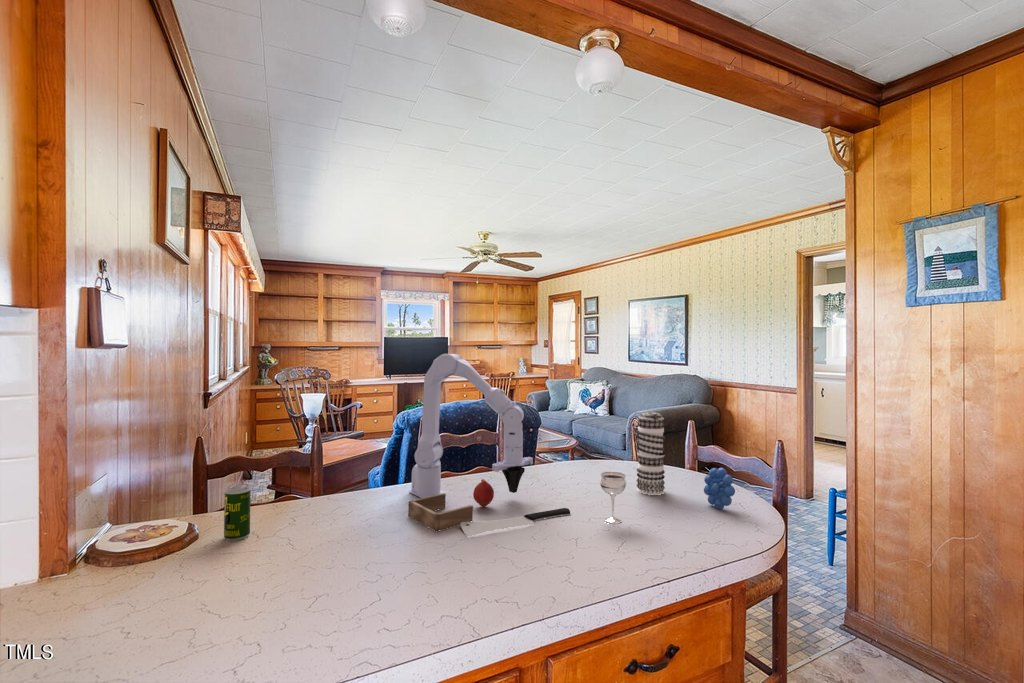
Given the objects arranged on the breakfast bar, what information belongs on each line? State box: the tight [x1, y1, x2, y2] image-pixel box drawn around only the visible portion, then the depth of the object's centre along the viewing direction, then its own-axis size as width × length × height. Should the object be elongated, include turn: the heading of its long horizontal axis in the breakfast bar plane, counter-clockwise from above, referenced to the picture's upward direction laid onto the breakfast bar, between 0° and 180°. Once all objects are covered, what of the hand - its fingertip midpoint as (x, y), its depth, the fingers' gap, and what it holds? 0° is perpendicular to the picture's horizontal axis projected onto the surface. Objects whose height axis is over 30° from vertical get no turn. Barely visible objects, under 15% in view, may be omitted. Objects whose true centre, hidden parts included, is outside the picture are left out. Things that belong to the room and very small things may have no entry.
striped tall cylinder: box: [635, 411, 667, 496], centre depth 151 cm, size 9×9×25 cm
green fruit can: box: [223, 483, 252, 542], centre depth 112 cm, size 5×5×12 cm
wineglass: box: [599, 471, 627, 523], centre depth 125 cm, size 7×7×12 cm
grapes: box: [703, 467, 736, 510], centre depth 135 cm, size 12×7×12 cm, turn 16°
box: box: [407, 493, 474, 532], centre depth 125 cm, size 14×11×4 cm
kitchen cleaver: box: [459, 507, 571, 537], centre depth 122 cm, size 31×2×10 cm
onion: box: [472, 478, 495, 508], centre depth 135 cm, size 6×6×8 cm
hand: (513, 491), depth 142 cm, fingers closed
